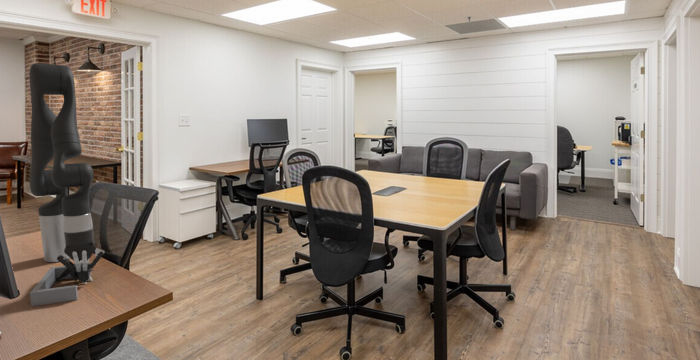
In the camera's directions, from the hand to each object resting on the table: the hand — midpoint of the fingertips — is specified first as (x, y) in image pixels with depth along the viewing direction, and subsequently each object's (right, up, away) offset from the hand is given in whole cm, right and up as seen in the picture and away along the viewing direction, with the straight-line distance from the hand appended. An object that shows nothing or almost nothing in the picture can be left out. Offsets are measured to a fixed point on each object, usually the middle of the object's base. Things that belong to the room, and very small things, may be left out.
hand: (84, 281), depth 132 cm
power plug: (-6, -1, +4) cm, 7 cm away
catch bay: (-5, -2, -2) cm, 5 cm away
